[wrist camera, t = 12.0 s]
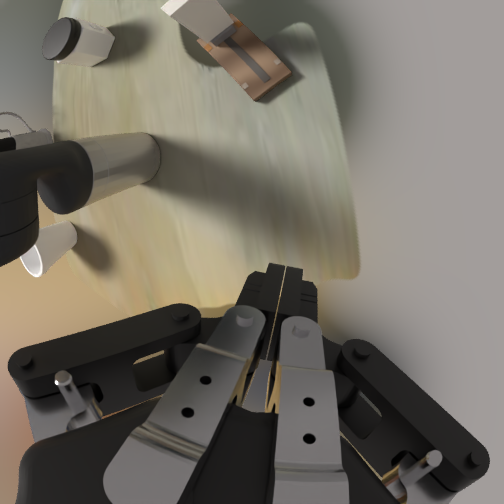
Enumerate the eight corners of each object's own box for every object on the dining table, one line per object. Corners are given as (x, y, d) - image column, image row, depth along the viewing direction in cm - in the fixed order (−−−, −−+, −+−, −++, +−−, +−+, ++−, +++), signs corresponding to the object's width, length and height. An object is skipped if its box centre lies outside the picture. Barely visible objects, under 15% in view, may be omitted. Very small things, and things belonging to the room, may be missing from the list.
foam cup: (87, 234, 54) (46, 259, 42) (75, 259, 58) (38, 285, 46) (62, 206, 52) (21, 225, 41) (52, 232, 56) (15, 254, 44)
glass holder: (36, 168, 50) (-12, 184, 37) (29, 114, 45) (-19, 122, 31) (55, 159, 48) (3, 174, 35) (49, 101, 43) (-3, 106, 29)
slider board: (292, 74, 35) (291, 71, 33) (255, 101, 38) (253, 100, 36) (234, 17, 32) (230, 13, 30) (201, 43, 35) (196, 40, 33)
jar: (121, 42, 36) (78, 29, 25) (94, 73, 39) (50, 69, 28) (102, 21, 34) (62, 9, 23) (78, 51, 37) (36, 45, 27)
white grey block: (239, 28, 31) (208, -11, 19) (213, 48, 33) (172, 18, 21) (227, 17, 31) (192, -22, 18) (202, 37, 33) (158, 6, 20)
